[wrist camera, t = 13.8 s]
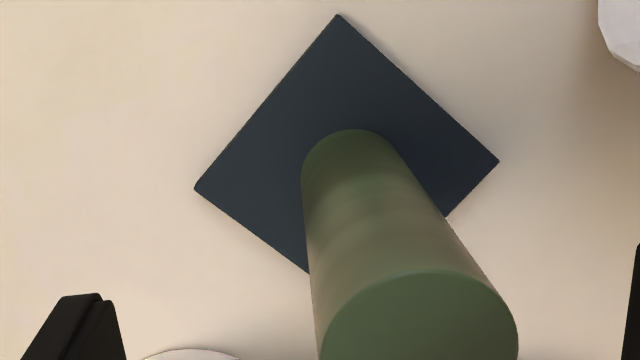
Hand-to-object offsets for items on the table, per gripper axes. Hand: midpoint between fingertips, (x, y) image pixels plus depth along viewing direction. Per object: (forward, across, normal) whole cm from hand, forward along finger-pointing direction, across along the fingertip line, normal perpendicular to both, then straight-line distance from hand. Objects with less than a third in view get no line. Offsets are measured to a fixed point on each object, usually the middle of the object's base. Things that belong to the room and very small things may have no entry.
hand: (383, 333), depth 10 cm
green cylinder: (+10, -1, +1) cm, 10 cm away
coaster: (+10, -1, 0) cm, 10 cm away
